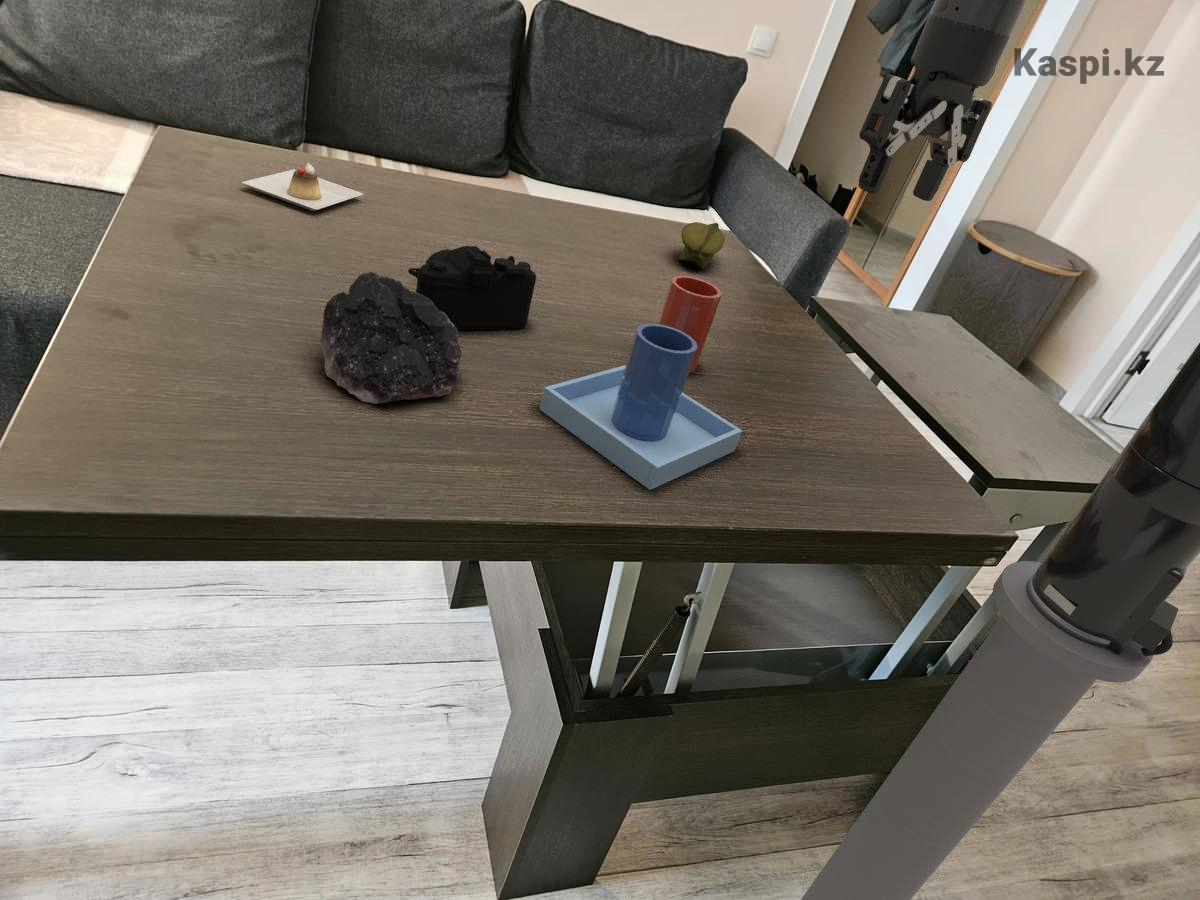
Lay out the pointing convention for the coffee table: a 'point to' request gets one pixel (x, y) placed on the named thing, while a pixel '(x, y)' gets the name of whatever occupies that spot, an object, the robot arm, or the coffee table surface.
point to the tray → (648, 462)
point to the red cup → (691, 309)
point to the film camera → (477, 288)
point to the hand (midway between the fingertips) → (894, 194)
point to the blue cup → (653, 381)
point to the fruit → (701, 243)
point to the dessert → (302, 189)
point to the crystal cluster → (388, 342)
